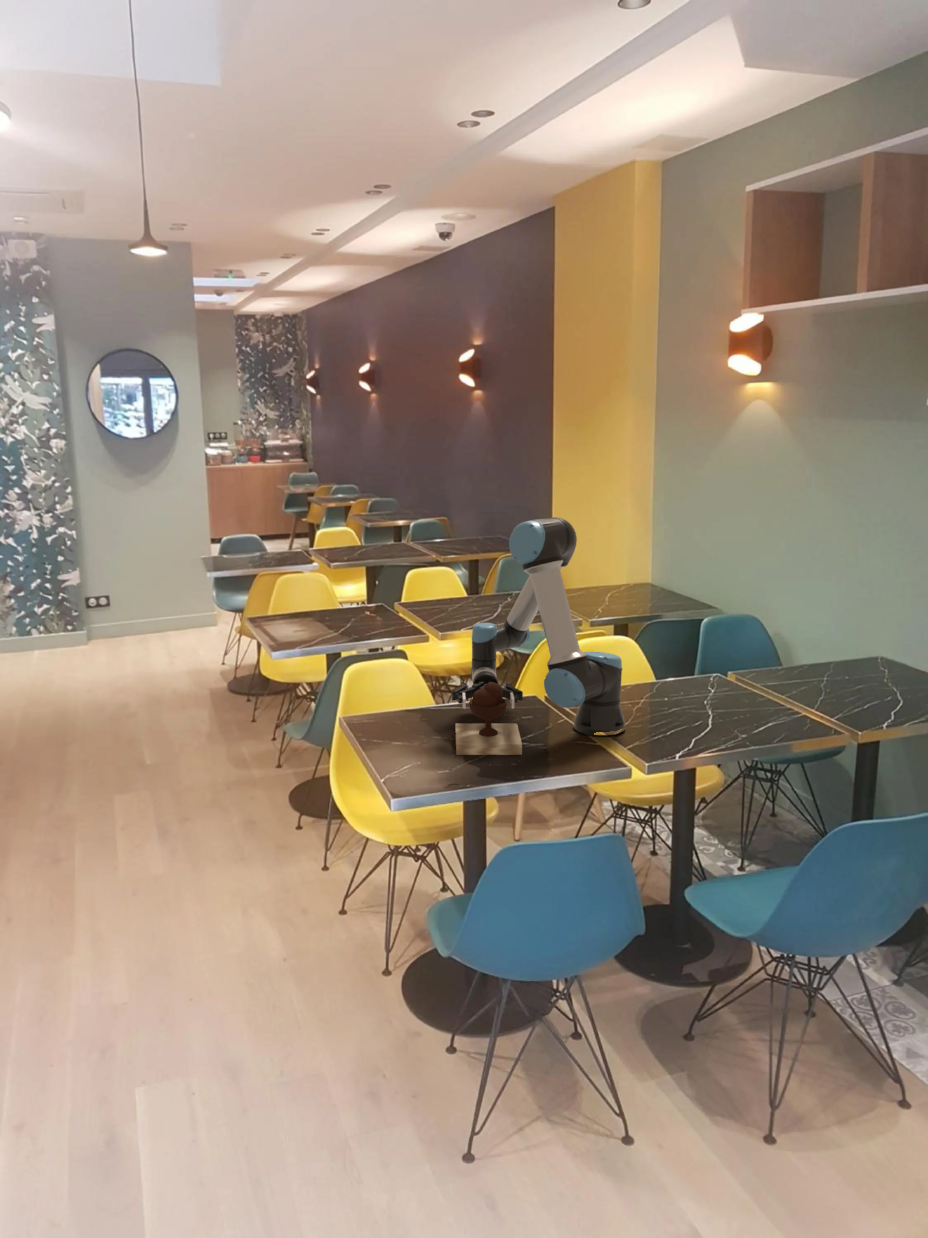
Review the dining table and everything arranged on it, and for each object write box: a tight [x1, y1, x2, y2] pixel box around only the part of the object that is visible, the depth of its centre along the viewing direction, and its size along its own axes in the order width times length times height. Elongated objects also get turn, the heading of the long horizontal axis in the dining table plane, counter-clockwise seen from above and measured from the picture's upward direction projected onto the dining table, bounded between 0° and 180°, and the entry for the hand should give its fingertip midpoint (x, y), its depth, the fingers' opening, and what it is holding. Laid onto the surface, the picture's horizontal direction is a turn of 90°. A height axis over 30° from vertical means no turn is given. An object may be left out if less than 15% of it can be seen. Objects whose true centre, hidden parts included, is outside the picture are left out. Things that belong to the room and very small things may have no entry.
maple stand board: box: [454, 722, 523, 756], centre depth 279 cm, size 18×18×3 cm
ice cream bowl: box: [468, 682, 508, 737], centre depth 277 cm, size 11×11×15 cm
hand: (488, 704), depth 273 cm, fingers open, 13 cm apart
